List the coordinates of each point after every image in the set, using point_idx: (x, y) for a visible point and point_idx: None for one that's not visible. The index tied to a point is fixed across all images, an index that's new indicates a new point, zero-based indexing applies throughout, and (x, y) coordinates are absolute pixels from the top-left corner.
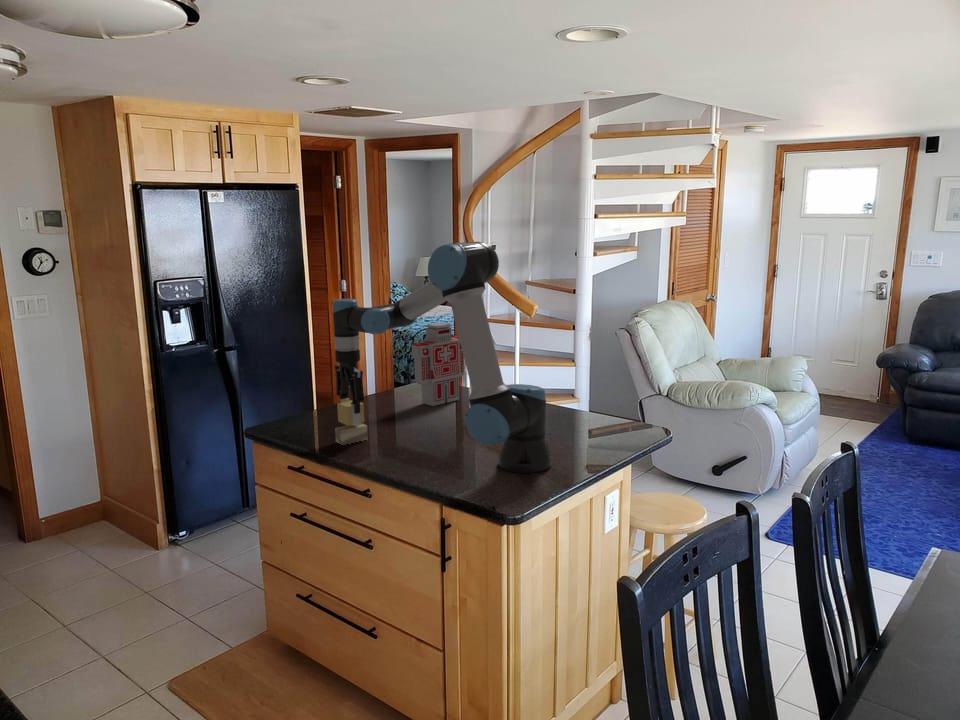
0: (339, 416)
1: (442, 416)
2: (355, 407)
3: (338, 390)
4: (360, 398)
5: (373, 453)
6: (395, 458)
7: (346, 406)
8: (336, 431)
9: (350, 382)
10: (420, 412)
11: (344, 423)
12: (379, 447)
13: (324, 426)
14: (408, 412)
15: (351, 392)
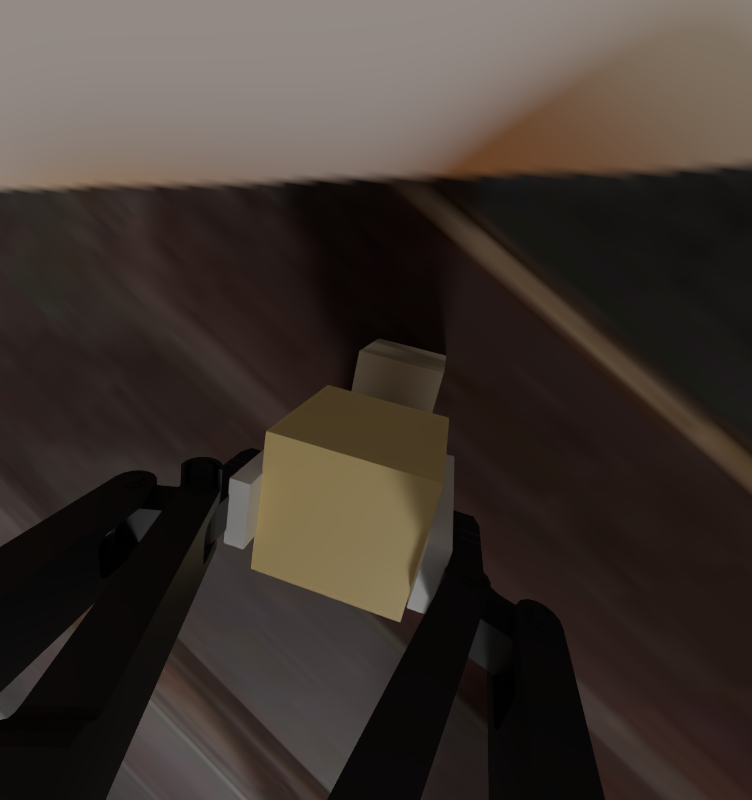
0: (423, 425)
1: (344, 764)
2: (226, 471)
3: (518, 657)
4: (114, 530)
5: (200, 345)
6: (103, 351)
7: (279, 440)
8: (428, 364)
9: (16, 713)
10: (445, 787)
11: (363, 396)
12: (241, 413)
13: (724, 519)
14: (486, 780)
15: (152, 561)
